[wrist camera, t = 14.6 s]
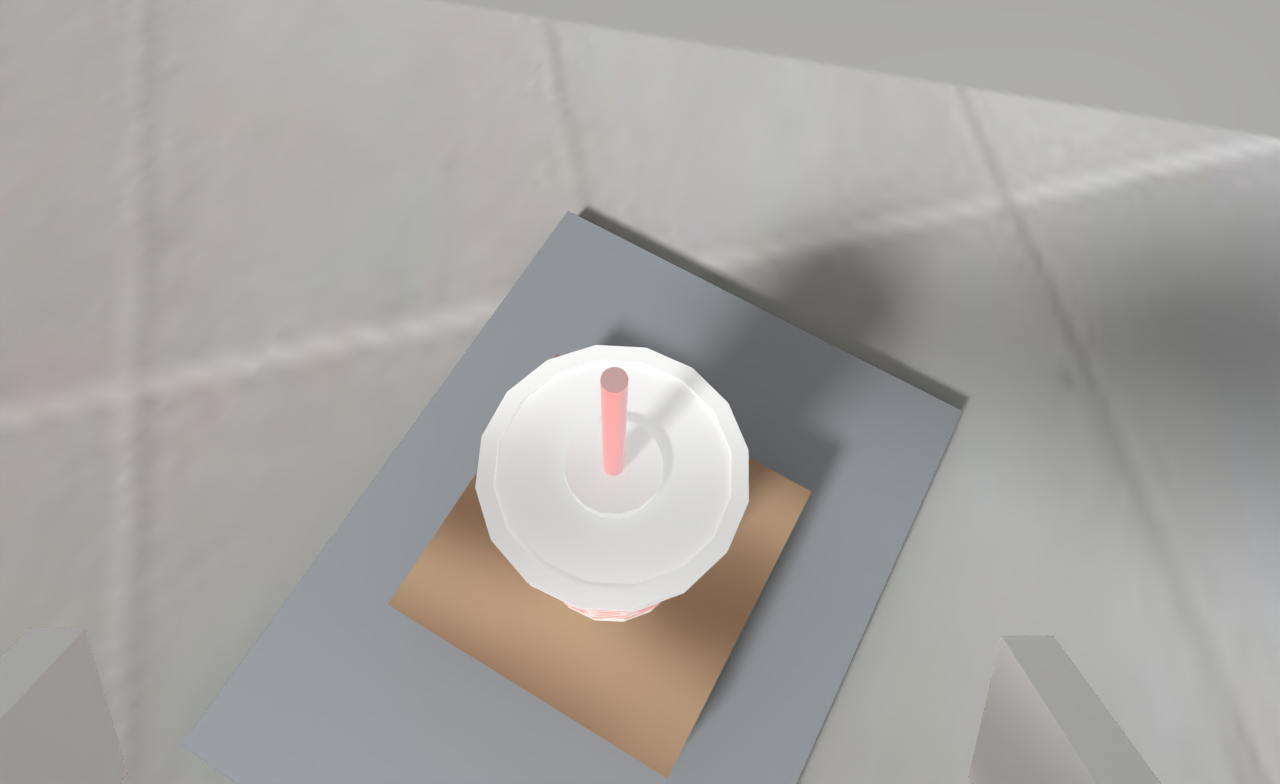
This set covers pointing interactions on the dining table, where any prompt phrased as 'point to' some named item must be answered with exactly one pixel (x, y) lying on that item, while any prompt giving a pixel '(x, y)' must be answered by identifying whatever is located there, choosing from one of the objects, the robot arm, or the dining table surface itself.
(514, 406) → the beverage cup
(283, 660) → the base board
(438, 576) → the walnut pedestal
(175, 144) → the dining table surface
